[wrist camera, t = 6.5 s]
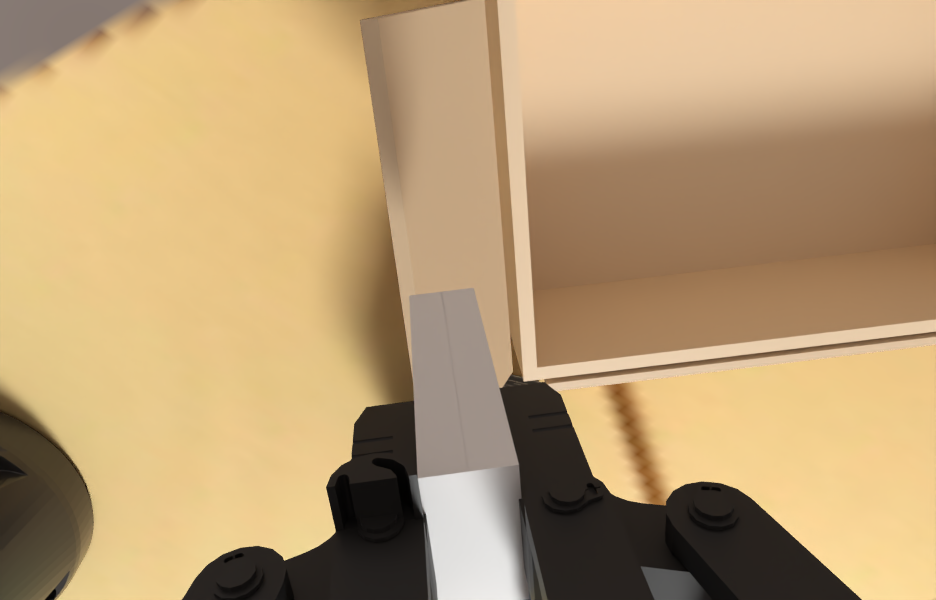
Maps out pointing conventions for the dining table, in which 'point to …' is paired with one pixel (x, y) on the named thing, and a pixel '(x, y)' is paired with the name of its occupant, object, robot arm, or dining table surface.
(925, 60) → the carton
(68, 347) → the dining table surface
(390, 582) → the robot arm
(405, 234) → the flap
